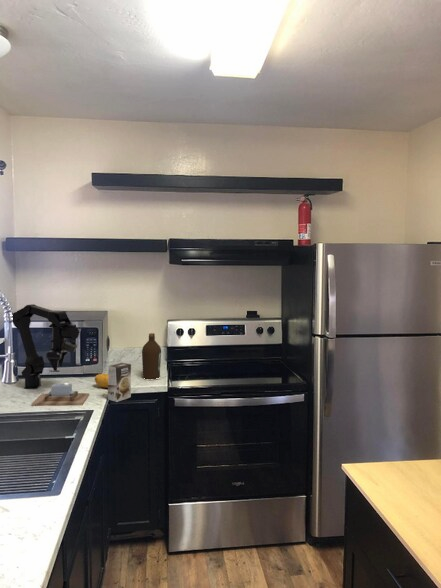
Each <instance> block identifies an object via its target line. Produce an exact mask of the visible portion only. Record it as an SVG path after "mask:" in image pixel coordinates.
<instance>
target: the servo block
mask: <svg viewBox="0 0 441 588" xmlns="http://www.w3.org/2000/svg"><path fill="white" fill-rule="evenodd" d="M50 389H51V391H49V392H48V395H51V396H71V395H72V394H74V393H75V391H76V390H73V383H69V382H64V383H53V384H52V385H51V388H50Z"/></svg>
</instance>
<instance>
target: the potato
mask: <svg viewBox="0 0 441 588" xmlns="http://www.w3.org/2000/svg"><path fill="white" fill-rule="evenodd" d="M94 382H95V384H96V385H97V386H98V387H100V388H105V389H108V373H98V374H97V375H95V377H94Z"/></svg>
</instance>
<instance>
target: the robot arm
mask: <svg viewBox="0 0 441 588" xmlns="http://www.w3.org/2000/svg"><path fill="white" fill-rule="evenodd" d="M12 315H13V322H12V324H13V326H14V327H15V328H16V329H17V330H18V332H19V336H20V338H21V342H22V345H23V349H24V352H25V357H26V358H25V363H24V365H25V366H24V368H23V370H22V371H21V376H22V377H23V378H24V386H23V389H25V390H26V389H33V390H34V389H38V388H39V387H41V385H42V378H41V376H40V375H42V374H43V373H44V370H45V369H44V368H45V364H46V362H45V361H44V357H43V355H38V352H37V350H36V349H37V348H36V346H35V342H34V340H33V335H32V332H31V329H30V326H31V322H32V319H31V318H32V317H33V316H38V317H41V318H44V319H46V320H47V321H48V322H50V323H51V324H50V325H48V328H51V331H52V332H51V333H52V336H51V337H52V339H50V343H52V345H51V346H52V347H51V348H50V350H49V351H47V352H46V354H45V356H46V359H47V360H48V361H49V363H50V365H51V367H52V370H53V371H54V372H57V371H58V366H59V367H63V364H64V361H65V357H66V355H67V354H68V353H72V354H74V353H75V352H76V349H77V348H78V344H77V341H75V340H76V339H78V337H79V336H80V331H79V328H78V327H77V324H72V322H71V320H70V318H69V317H68V314H67V312H66V311H65V310H52V309H49V308H45V307H42V306H38V305H36V304H34V303H33V304H27V305H25V306H24V307H22V308H20V309H18V310H17V311H15V312H13V313H12ZM69 339H70V340H72V341H71V342H70V341H68V340H69Z"/></svg>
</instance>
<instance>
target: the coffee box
mask: <svg viewBox="0 0 441 588" xmlns="http://www.w3.org/2000/svg"><path fill="white" fill-rule="evenodd" d="M107 372H108V373H107V374H108V388H107V400H108V401H113V402H116V403H118V402H120V401H123V400H124V401H125V400H127V399H129V398H131V396H132V391H131V390H132V364H131V363H127V362H126V363H124V362H120V363H116V364H110V365H108V371H107Z"/></svg>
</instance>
